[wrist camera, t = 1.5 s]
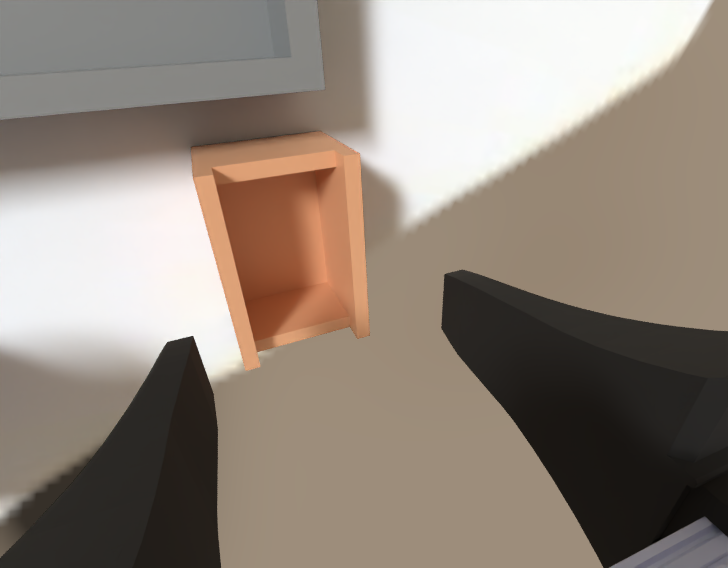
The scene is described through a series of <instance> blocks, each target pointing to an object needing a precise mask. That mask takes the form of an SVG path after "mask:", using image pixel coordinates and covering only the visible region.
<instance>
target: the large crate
mask: <svg viewBox="0 0 728 568" xmlns="http://www.w3.org/2000/svg"><path fill="white" fill-rule="evenodd" d="M316 90H325V82H324V71H323V60H322V49H321V38H320V27H319V16H318V5H317V0H0V120H3V119H14V118H25V117H36V116H46V115H57V114H68V113H79V112H90V111H100V110H111V109H122V108H133V107H143V106H154V105H165V104H176V103H187V102H197V101H208V100H219V99H230V98H241V97H251V96H262V95H273V94H284V93H294V92H305V91H316Z"/></svg>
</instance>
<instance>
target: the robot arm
mask: <svg viewBox="0 0 728 568" xmlns="http://www.w3.org/2000/svg"><path fill="white" fill-rule="evenodd" d="M443 293H444V294H443V310H442V327H441V328H442V330H443V332H444V333H445V335H446V337H447V338H448V340H449V341H450V343H451V345H452V346H453V348H454V349H455V351H456V352H457V354H458V355H459V356H460V358H461V359H462V360H463V361H464V362H465V364H466V365H467V366H468V367H469V368H470V369H471V371H472V372H473V373H474V374H475V375H476V377H477V378H478V379H479V380H480V381H481V382H482V384H483V385H484V386H485V387H486V388H487V389H488V391H489V392H490V393H491V394H492V395H493V396H494V397H495V399H496V400H497V401H498V402H499V403H500V404H501V405H502V407H503V408H504V409H505V410H506V412H507V413H508V414H509V416H510V417H511V418H512V419H513V420H514V422H515V423H516V425H517V426H518V428H519V429H520V431H521V432H522V433H523V435H524V436H525V438H526V439H527V441H528V442H529V443H530V445H531V446H532V448H533V449H534V451H535V452H536V454H537V456H538V457H539V459H540V460H541V462H542V463H543V465H544V466H545V468H546V469H547V471H548V472H549V474H550V475H551V477H552V479H553V480H554V482H555V484H556V485H557V487H558V488H559V490H560V492H561V493H562V495H563V497H564V498H565V500H566V502H567V503H568V505H569V507H570V508H571V510H572V511H573V513H574V515H575V517H576V518H577V520H578V522H579V524H580V526H581V527H582V529H583V531H584V533H585V535H586V536H587V538H588V540H589V542H590V543H591V545H592V547H593V549H594V551H595V552H596V554H597V556H598V558H599V560H600V562H601V564H602V566H603V568H728V331H713V330H703V329H694V328H685V327H676V326H669V325H661V324H654V323H649V322H643V321H637V320H631V319H625V318H620V317H615V316H610V315H606V314H602V313H598V312H594V311H590V310H585V309H581V308H578V307H574V306H570V305H567V304H564V303H560V302H557V301H554V300H550V299H547V298H544V297H541V296H538V295H535V294H532V293H529V292H527V291H524V290H521V289H518V288H515V287H512V286H510V285H507V284H504V283H501V282H499V281H496V280H493V279H490V278H487V277H485V276H482V275H479V274H475V273H473V272H469V271H465V270H459V271H455V272H451V273H447V274H445V275H444V292H443ZM217 464H218V427H217V418H216V411H215V403H214V394H213V391H212V388H211V385H210V382H209V380H208V377H207V374H206V371H205V368H204V365H203V363H202V360H201V357H200V354H199V351H198V348H197V346H196V343H195V340H194V337H193V336H190V337H186V338H182V339H178V340H174V341H170V342H167V343H166V345H165V346H164V348H163V350H162V351H161V353H160V355H159V357H158V359H157V360H156V362H155V364H154V366H153V367H152V369H151V371H150V373H149V374H148V376H147V378H146V380H145V381H144V383H143V385H142V386H141V388H140V389H139V391H138V393H137V394H136V396H135V397H134V399H133V401H132V402H131V404H130V406H129V407H128V409H127V410H126V412H125V413H124V415H123V416H122V417H121V419H120V420H119V422H118V423H117V425H116V426H115V427H114V429H113V430H112V432H111V433H110V435H109V436H108V438H107V439H106V440H105V442H104V443H103V444H102V446H101V447H100V448H99V450H98V451H97V452H96V454H95V455H94V456H93V458H92V459H91V460H90V461H89V463H88V464H87V465H86V466H85V467H84V469H83V470H82V471H81V472H80V474H79V475H78V476H77V477H76V478H75V480H74V481H73V482H72V483H71V484H70V485H69V487H68V488H67V489H66V490H65V491H64V492H63V493H62V494H61V495H60V496H59V497H58V498H57V500H56V501H55V502H54V503H53V504H52V505H51V506H50V507H49V508H48V509H47V510H46V511H45V513H44V514H43V515H42V516H41V517H40V518H39V519H38V520H37V521H36V522H35V523H34V524H33V525H32V527H31V528H30V529H29V530H28V531H27V532H26V533H25V534H24V535H23V536H22V537H21V538H20V539H19V540H18V541H17V542H16V543H15V544H14V545H13V546H12V547H11V548H10V549H9V550H8V551H7V552H6V553H5V554H4V555H3V556H2V557H1V558H0V568H221V562H220V552H219V540H218V524H217V468H218V467H217V466H218V465H217Z"/></svg>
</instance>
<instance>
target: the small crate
mask: <svg viewBox="0 0 728 568" xmlns="http://www.w3.org/2000/svg"><path fill="white" fill-rule="evenodd" d="M191 158H192V172H193V180H194V184H195V187H196V191H197V195H198V198H199V202H200V206H201V209H202V213H203V216H204V220H205V224H206V227H207V231H208V235H209V238H210V242H211V246H212V249H213V253H214V257H215V260H216V264H217V268H218V271H219V275H220V279H221V282H222V286H223V289H224V293H225V297H226V300H227V304H228V308H229V311H230V315H231V319H232V322H233V326H234V330H235V333H236V337H237V341H238V344H239V348H240V352H241V355H242V359H243V363H244V366H245V370H246V371H247V370H251V369H254V368H258V367H260V363H259V359H258V354H257V352H260V351H263V350H267V349H270V348H274V347H278V346H281V345H285V344H289V343H292V342H296V341H299V340H303V339H306V338H310V337H314V336H318V335H321V334H325V333H328V332H332V331H335V330H339V329H343V328H347V327H350V328H351V329H352V331H353V333H354V334H355V336H356V338H357V339H359V338H363V337H366V336H369V335H370V330H369V311H368V293H367V275H366V256H365V238H364V219H363V201H362V183H361V164H360V153H358V152H356V151H354V150H353V149H351V148H349V147H347V146H346V145H344V144H342V143H340V142H339V141H337V140H335V139H333V138H332V137H330V136H328V135H326V134H325V133H323V132H321V131H316V132H308V133H300V134H292V135H284V136H275V137H267V138H259V139H251V140H243V141H235V142H227V143H219V144H210V145H202V146H194V147H191Z"/></svg>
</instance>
